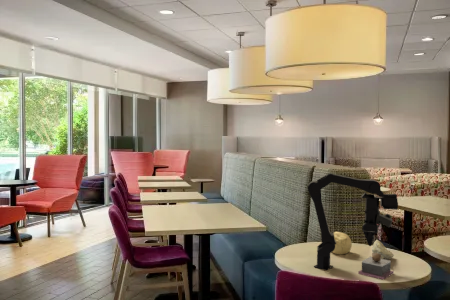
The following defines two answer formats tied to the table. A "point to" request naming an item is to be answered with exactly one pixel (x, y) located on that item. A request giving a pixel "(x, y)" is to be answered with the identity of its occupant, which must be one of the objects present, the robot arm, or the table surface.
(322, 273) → the table surface
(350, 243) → the sculpture
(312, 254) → the table surface
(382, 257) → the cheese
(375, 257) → the plunger
